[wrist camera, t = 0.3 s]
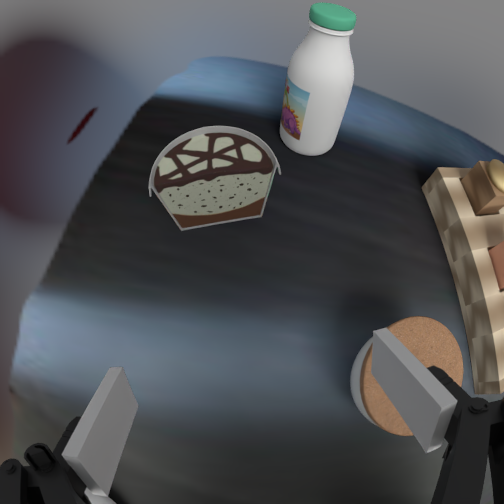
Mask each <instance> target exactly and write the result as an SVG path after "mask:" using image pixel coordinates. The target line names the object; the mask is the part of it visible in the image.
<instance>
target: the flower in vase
mask: <svg viewBox="0 0 504 504" xmlns="http://www.w3.org/2000/svg"><path fill="white" fill-rule="evenodd" d="M85 494H86V495H87V496H88V498H89V500H90V502H91V504H116V503H115V502H114V501H113V500H112V499H111V498H109V497H106V496H100V495H95V494H92V493H91V491H90V490H89V489H88V488H87V487H86V490H85Z"/></svg>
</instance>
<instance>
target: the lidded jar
mask: <svg viewBox="0 0 504 504" xmlns="http://www.w3.org/2000/svg"><path fill="white" fill-rule="evenodd" d="M386 328H387V329H388V330H389V331H390V332H391V333H392V334H393V335H394V336H395V337H396V338H397V339H398V340H399V341H400V342H401V343H402V344H403V345H404V346H405V347H406V348H407V349H408V350H409V351H410V352H411V353H412V354H413V355H414V356H415V357H416V358H417V359H418V360H419V361H420V362H421V363H422V364H423V365H424V366H425V367H426V368H428V367H431V366H433V365H434V366H436V367H438V368H441V369H443V370H444V371H445V372H446V373H447V374H448V375H449V377H451V378H452V379H453V380H454V382H456V383H457V384H458V385H459V386H460V387H461V384H462V379H463V361H462V355H461V351H460V348H459V345H458V343H457V341H456V339H455V338H454V336H453V335H452V333H451V332H450V331H449V330H448V329H447V328H446V327H445V326H444V325H443V324H441V323H440V322H438V321H436V320H434V319H432V318H428V317H423V316H414V317H408V318H405V319H401V320H399V321H397V322H395V323H393V324H391V325H390V326H388V327H386ZM372 349H373V336H372V337H371V338H370V339H369V340H368V341H367V342H366V343H365V344H364V346H363V347H362V348H361V349H360V351H359V353H358V354H357V356H356V358H355V361H354V363H353V366H352V370H351V377H350V388H351V394H352V397H353V400H354V402H355V404H356V406H357V408H358V409H359V411H360V412H361V413H362V414H363V416H364V417H365V418H367V419H368V420H369V421H370V422H371V423H373V424H375V425H376V426H378V427H380V428H382V429H383V430H385V431H387V432H389V433H392V434H396V435H400V436H413V433H412V432H411V430H410V429H409V427H408V426H407V424H406V423H405V421H404V420H403V418H402V417H401V415H400V414H399V412H398V411H397V410H396V408H395V407H394V405H393V404H392V402H391V401H390V399H389V398H388V396H387V395H386V394H385V392H384V391H383V389H382V388H381V386H380V385H379V384H378V382H377V381H376V379H375V378H374V376H373V375H372V374H371V366H372Z"/></svg>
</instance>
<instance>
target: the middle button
mask: <svg viewBox="0 0 504 504" xmlns="http://www.w3.org/2000/svg"><path fill="white" fill-rule="evenodd" d="M488 253H489V256H490V259H491V262H492V265H493V269H494V272H495V276H496V279H497V283H498V287H499V290H500V289H503V288H504V241H503V242H501V243H500V244H498V245H497V246H495V247H494V248H492V249H491V250H489V251H488Z"/></svg>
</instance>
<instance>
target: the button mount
mask: <svg viewBox="0 0 504 504" xmlns="http://www.w3.org/2000/svg"><path fill="white" fill-rule="evenodd" d="M471 169H472V168H445V167H438V168H437V169H436V170H435V171H434V173H433V174H432V175H431V176H430V178H429V179H428V180H427V181H426V183H425V184H424V185H423V186H422V190H423V192H424V195H425V197H426V200H427V202H428V205H429V207H430V210H431V212H432V215H433V218H434V220H435V223H436V226H437V229H438V231H439V234H440V237H441V240H442V243H443V246H444V249H445V252H446V255H447V259H448V262H449V265H450V269H451V272H452V275H453V279H454V283H455V286H456V290H457V294H458V298H459V302H460V306H461V311H462V315H463V320H464V325H465V330H466V335H467V340H468V346H469V352H470V358H471V365H472V372H473V381H474V390H475V394H501V393H502V392H504V288H503V289H500V290H499V287H498V283H497V279H496V276H495V272H494V269H493V265H492V262H491V259H490V256H489V253H488V251H489V250H491V249H492V248H494V247H495V246H497V245H498V244H500V243H501V242H503V241H504V207H503V208H501V209H500V210H499V211H498V212H497V213H494V214H484V215H475V214H474V212H473V209H472V207H471V204H470V202H469V200H468V197H467V195H466V193H465V191H464V188H463V186H462V184H461V182H460V181H461V180H462V179H463V178H464V177H465V176H466V175H467V174H468V173H469V171H470V170H471Z"/></svg>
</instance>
